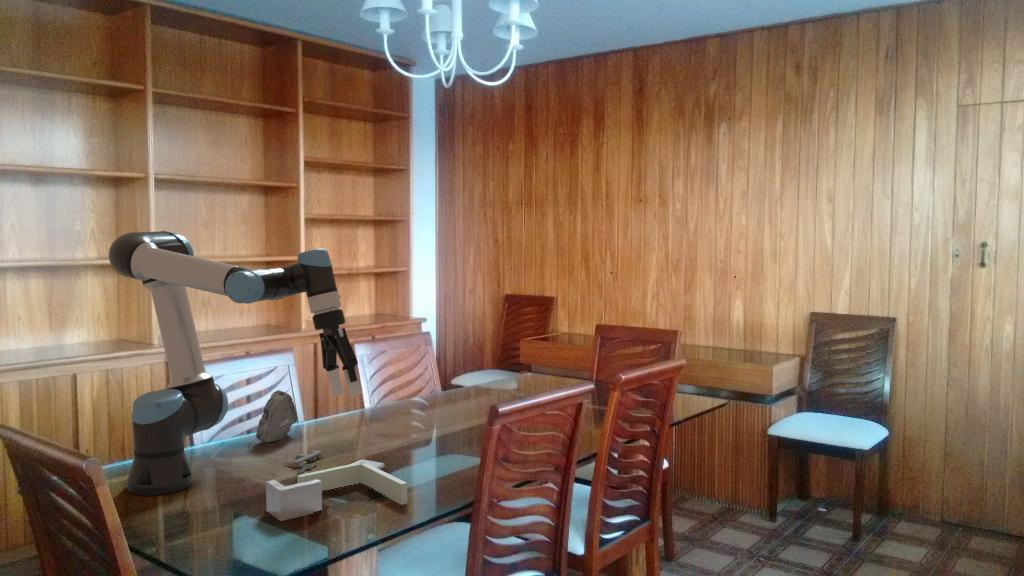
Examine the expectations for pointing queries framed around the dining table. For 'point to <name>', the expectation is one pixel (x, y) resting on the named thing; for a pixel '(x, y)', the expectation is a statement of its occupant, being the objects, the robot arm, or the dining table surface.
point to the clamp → (302, 457)
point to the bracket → (293, 499)
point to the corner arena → (360, 480)
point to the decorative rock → (277, 417)
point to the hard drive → (372, 463)
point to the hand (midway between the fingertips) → (347, 395)
